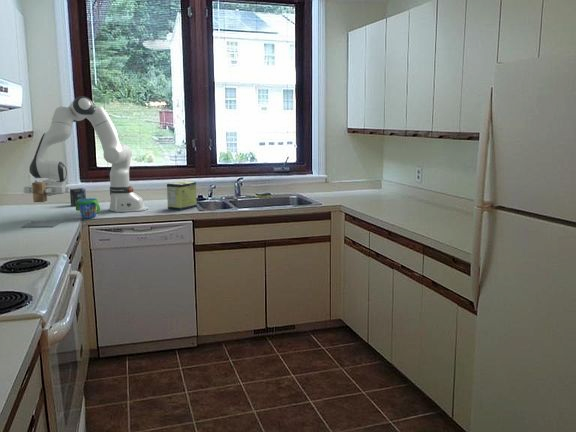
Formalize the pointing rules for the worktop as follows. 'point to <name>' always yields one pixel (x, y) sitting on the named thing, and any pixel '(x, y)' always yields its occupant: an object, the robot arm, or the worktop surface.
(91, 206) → the snack cup
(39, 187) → the walnut block
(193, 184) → the protein box
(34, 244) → the worktop surface
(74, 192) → the box
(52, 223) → the mat
